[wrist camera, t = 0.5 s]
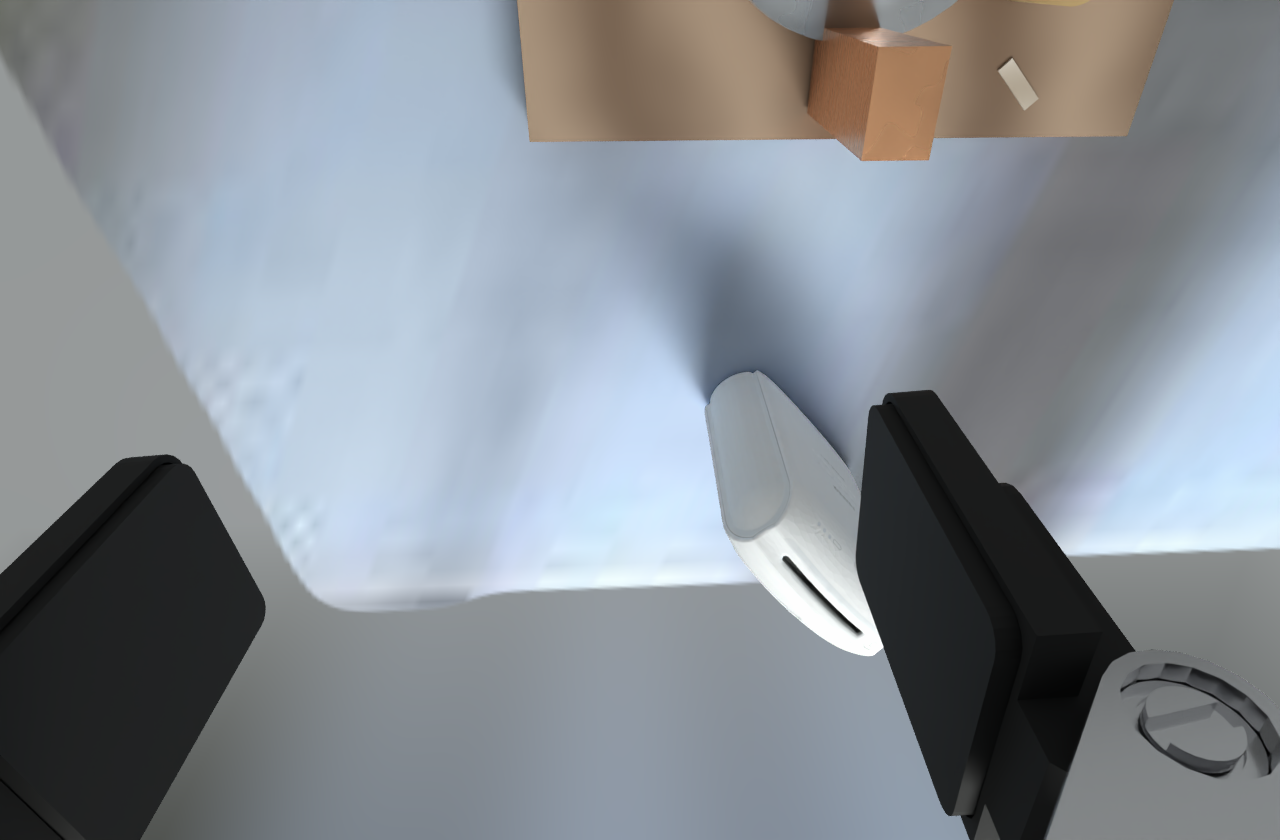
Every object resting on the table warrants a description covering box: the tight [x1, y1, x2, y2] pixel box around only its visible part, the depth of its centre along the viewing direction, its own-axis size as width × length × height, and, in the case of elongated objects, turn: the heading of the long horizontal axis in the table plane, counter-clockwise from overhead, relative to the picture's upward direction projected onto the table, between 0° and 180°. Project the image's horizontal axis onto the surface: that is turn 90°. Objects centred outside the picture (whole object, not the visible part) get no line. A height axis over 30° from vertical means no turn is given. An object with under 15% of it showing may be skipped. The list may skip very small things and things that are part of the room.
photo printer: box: [705, 371, 884, 656], centre depth 34 cm, size 10×4×12 cm, turn 40°
